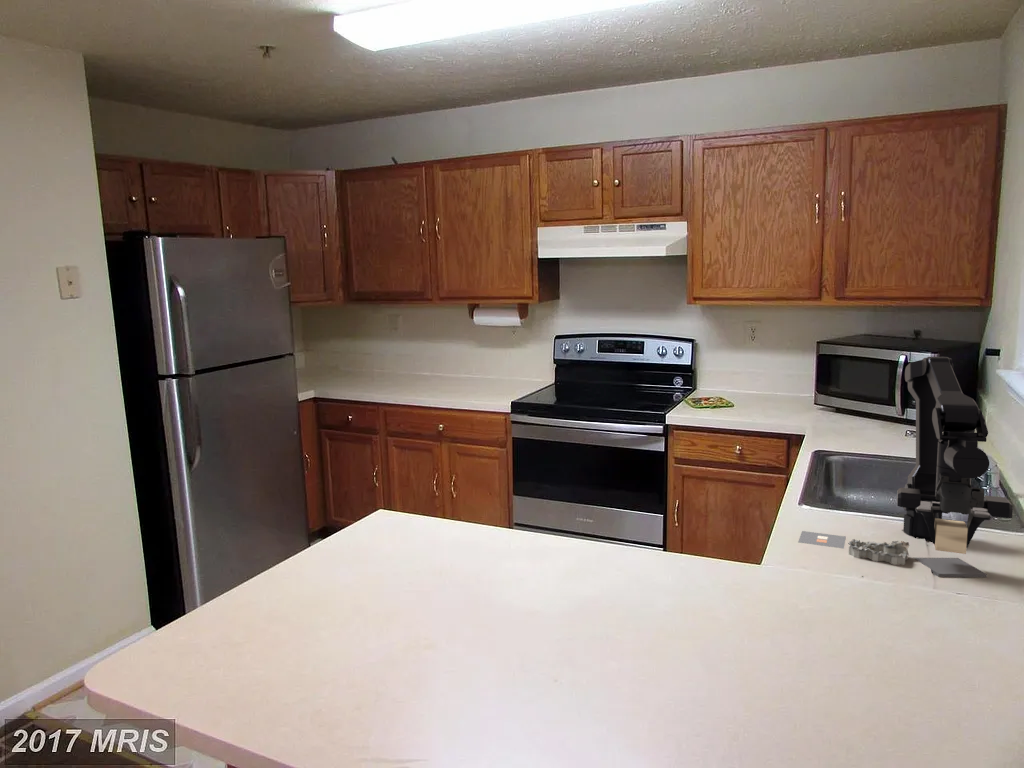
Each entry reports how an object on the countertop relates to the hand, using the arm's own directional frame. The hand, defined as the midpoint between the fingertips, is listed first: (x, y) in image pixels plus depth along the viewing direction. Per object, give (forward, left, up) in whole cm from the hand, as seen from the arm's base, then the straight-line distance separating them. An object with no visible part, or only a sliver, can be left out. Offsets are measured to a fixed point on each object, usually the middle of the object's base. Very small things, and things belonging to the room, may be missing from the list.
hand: (949, 545), depth 137 cm
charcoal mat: (0, 0, -5) cm, 5 cm away
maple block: (0, 0, -1) cm, 1 cm away
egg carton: (+11, -5, -5) cm, 13 cm away
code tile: (+18, -16, -5) cm, 25 cm away
